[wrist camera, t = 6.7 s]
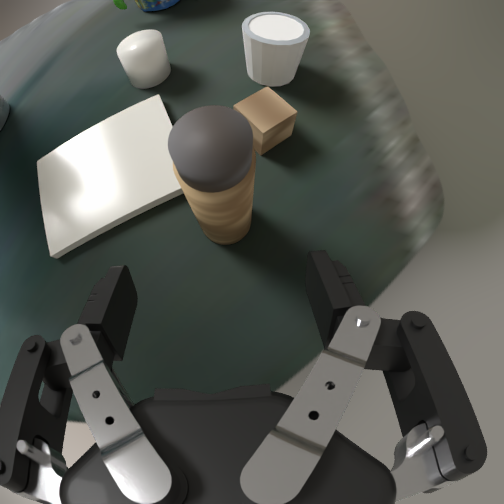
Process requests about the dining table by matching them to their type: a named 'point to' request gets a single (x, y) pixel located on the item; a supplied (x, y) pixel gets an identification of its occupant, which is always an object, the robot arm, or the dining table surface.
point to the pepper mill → (216, 169)
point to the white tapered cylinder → (273, 46)
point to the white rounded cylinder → (144, 58)
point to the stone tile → (107, 176)
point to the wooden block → (267, 118)
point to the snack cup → (148, 4)
